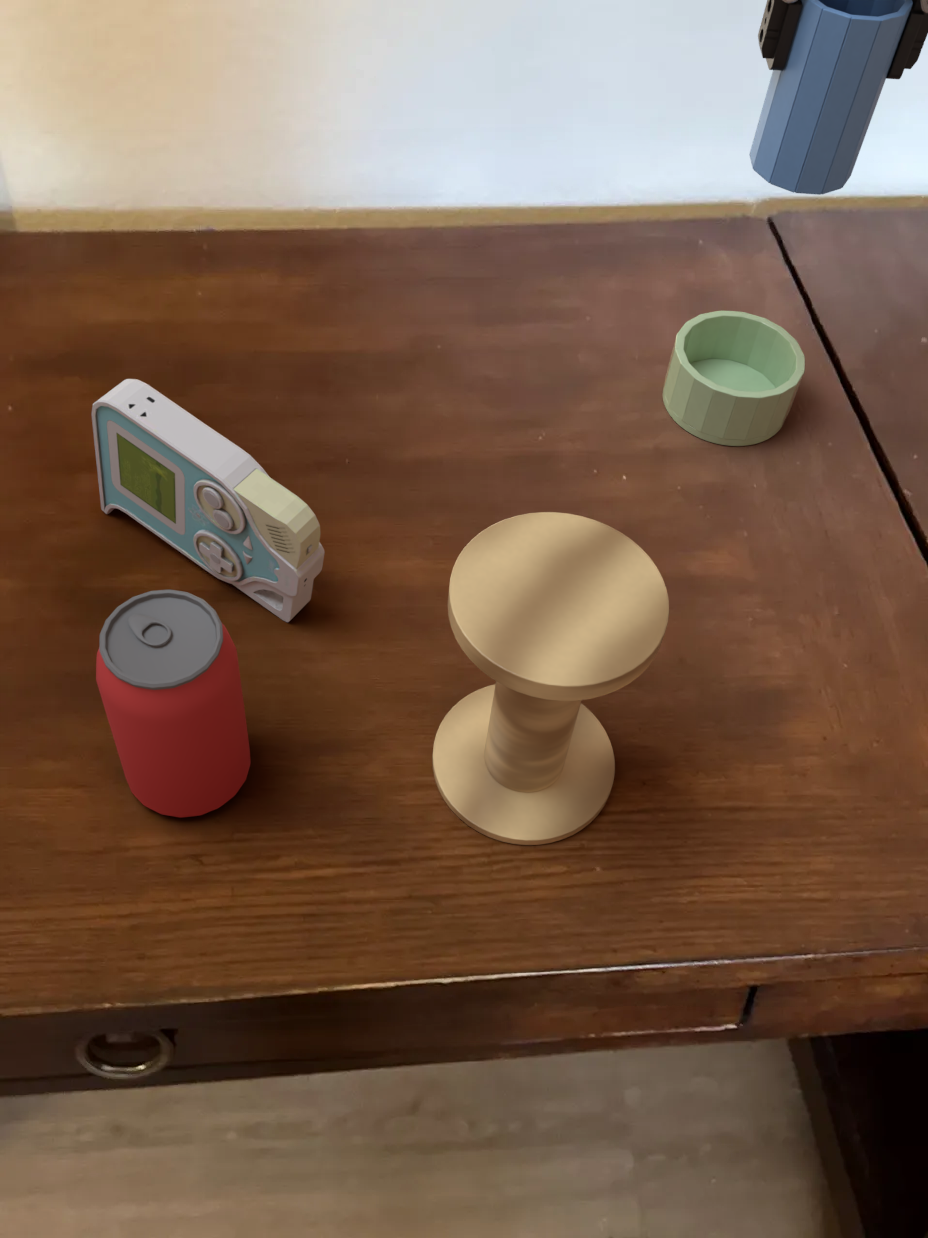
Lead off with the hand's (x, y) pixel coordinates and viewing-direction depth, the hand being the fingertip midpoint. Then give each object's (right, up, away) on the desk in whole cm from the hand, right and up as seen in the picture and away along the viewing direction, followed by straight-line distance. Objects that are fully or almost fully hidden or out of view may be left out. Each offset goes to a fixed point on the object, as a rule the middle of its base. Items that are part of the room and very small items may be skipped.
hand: (832, 66), depth 66 cm
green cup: (-2, -15, +20) cm, 25 cm away
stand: (-17, -38, +1) cm, 42 cm away
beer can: (-35, -38, -1) cm, 52 cm away
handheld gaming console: (-35, -27, +8) cm, 45 cm away
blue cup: (0, -4, +5) cm, 6 cm away
